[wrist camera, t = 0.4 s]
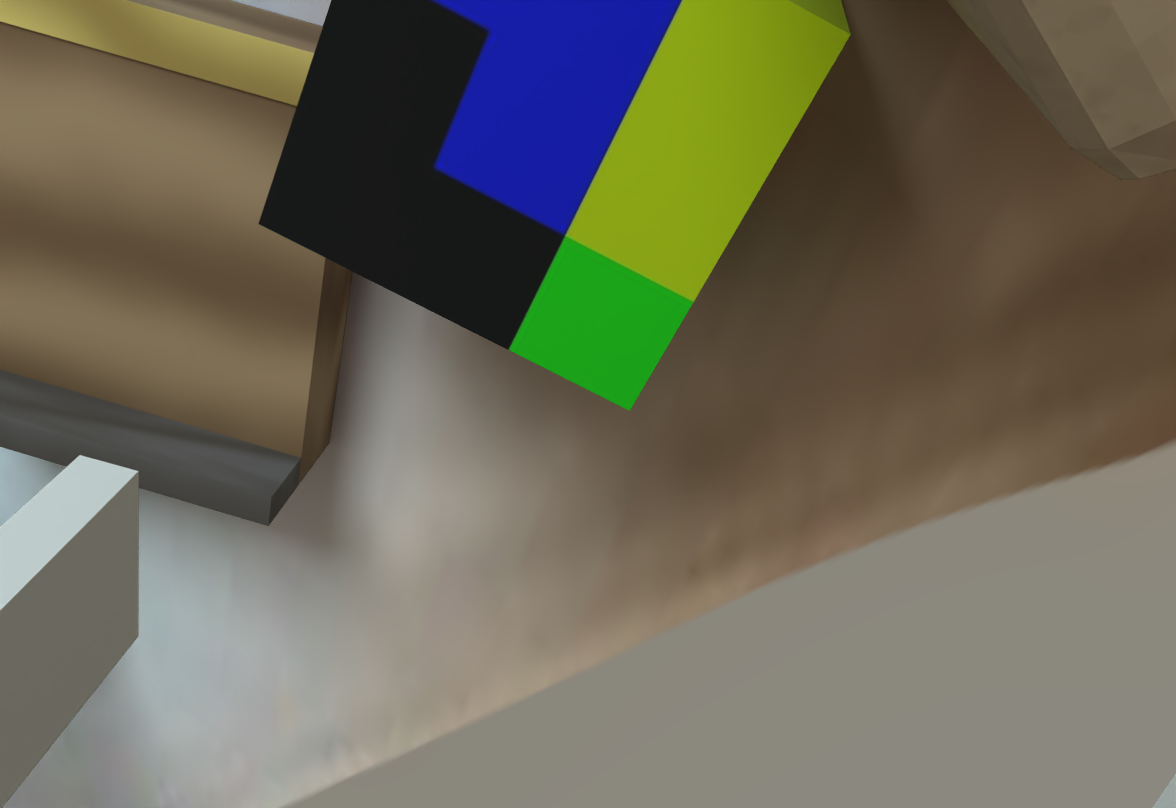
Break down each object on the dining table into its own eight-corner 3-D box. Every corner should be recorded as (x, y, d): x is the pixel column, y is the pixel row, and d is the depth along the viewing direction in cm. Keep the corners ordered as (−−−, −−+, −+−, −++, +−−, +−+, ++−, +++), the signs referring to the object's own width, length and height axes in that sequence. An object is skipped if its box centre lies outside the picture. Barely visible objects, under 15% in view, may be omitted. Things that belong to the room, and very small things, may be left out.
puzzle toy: (513, -204, 30) (400, -211, 21) (832, -28, 30) (850, 34, 22) (391, 121, 35) (258, 224, 26) (668, 264, 35) (629, 410, 27)
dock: (-17, -70, 34) (-150, -51, 29) (383, 43, 33) (315, 81, 29) (2, 346, 41) (-101, 417, 36) (329, 442, 41) (268, 526, 36)
